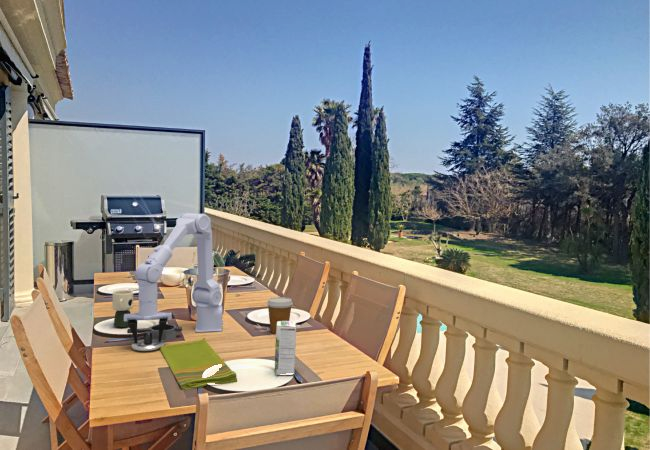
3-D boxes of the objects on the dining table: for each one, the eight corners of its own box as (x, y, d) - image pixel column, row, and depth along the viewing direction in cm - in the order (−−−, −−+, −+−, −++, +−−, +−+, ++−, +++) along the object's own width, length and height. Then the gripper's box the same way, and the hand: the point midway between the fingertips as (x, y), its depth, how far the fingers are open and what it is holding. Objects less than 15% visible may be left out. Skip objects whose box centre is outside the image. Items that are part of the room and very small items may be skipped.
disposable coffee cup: (296, 330, 192) (297, 298, 191) (284, 336, 184) (284, 303, 183) (274, 326, 196) (275, 295, 195) (261, 332, 188) (261, 300, 187)
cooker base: (182, 332, 185) (182, 323, 184) (181, 340, 176) (182, 330, 176) (129, 335, 180) (129, 325, 180) (125, 342, 172) (125, 332, 171)
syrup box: (274, 368, 152) (275, 320, 151) (294, 368, 152) (296, 320, 151) (274, 376, 146) (275, 326, 145) (295, 376, 147) (296, 326, 145)
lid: (164, 342, 173) (164, 327, 173) (163, 352, 164) (163, 336, 163) (133, 344, 171) (133, 328, 170) (129, 354, 161) (129, 337, 161)
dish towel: (181, 392, 134) (181, 380, 134) (159, 351, 166) (159, 341, 166) (238, 384, 141) (238, 372, 141) (206, 346, 173) (206, 336, 173)
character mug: (131, 330, 186) (131, 294, 185) (110, 331, 184) (110, 295, 183) (134, 322, 197) (134, 288, 196) (115, 322, 195) (115, 289, 194)
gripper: (122, 304, 160) (122, 346, 161) (171, 302, 164) (170, 344, 165) (125, 299, 167) (125, 340, 168) (171, 297, 171) (171, 338, 172)
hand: (147, 341), depth 167 cm, fingers open, 7 cm apart
